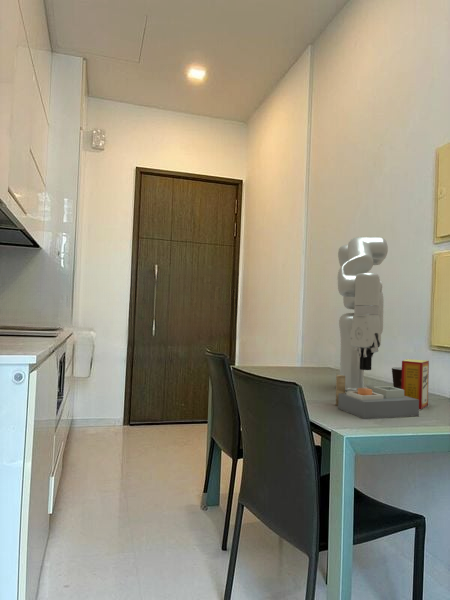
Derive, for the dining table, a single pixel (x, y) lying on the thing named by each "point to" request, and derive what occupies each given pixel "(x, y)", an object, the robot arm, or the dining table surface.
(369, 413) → the grey compartment tray
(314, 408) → the dining table surface
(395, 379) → the coffee mug
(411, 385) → the baking soda box
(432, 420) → the dining table surface
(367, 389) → the breaker button
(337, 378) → the wooden block
